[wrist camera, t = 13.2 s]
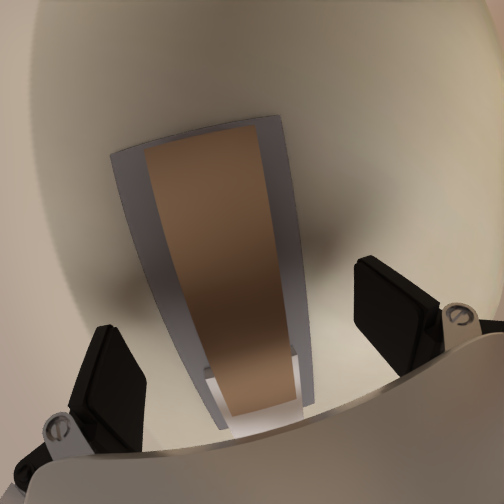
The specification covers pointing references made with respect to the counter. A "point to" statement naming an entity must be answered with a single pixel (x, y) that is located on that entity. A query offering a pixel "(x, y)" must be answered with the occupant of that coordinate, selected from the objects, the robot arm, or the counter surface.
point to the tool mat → (163, 271)
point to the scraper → (229, 273)
